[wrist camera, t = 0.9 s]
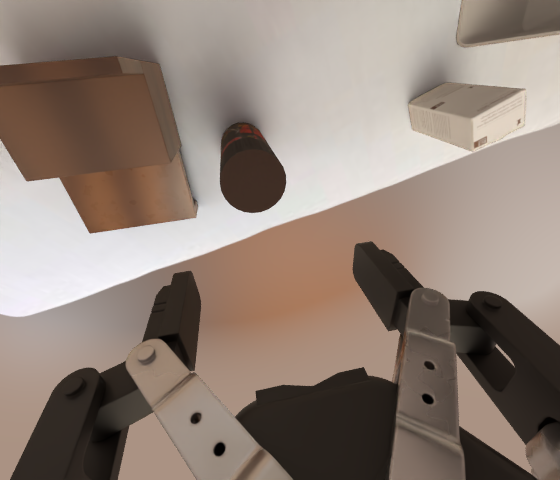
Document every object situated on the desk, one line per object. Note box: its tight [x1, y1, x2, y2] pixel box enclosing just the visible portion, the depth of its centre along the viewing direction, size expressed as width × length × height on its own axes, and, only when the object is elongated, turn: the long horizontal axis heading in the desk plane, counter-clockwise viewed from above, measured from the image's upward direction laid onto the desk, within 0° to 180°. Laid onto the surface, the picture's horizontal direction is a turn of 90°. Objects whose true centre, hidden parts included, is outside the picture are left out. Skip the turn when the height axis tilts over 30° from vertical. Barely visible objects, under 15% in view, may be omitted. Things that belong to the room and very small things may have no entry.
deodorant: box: [220, 123, 286, 213], centre depth 30 cm, size 6×6×15 cm
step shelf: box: [0, 56, 198, 233], centre depth 28 cm, size 14×18×14 cm
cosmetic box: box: [408, 83, 526, 152], centre depth 33 cm, size 6×4×12 cm
